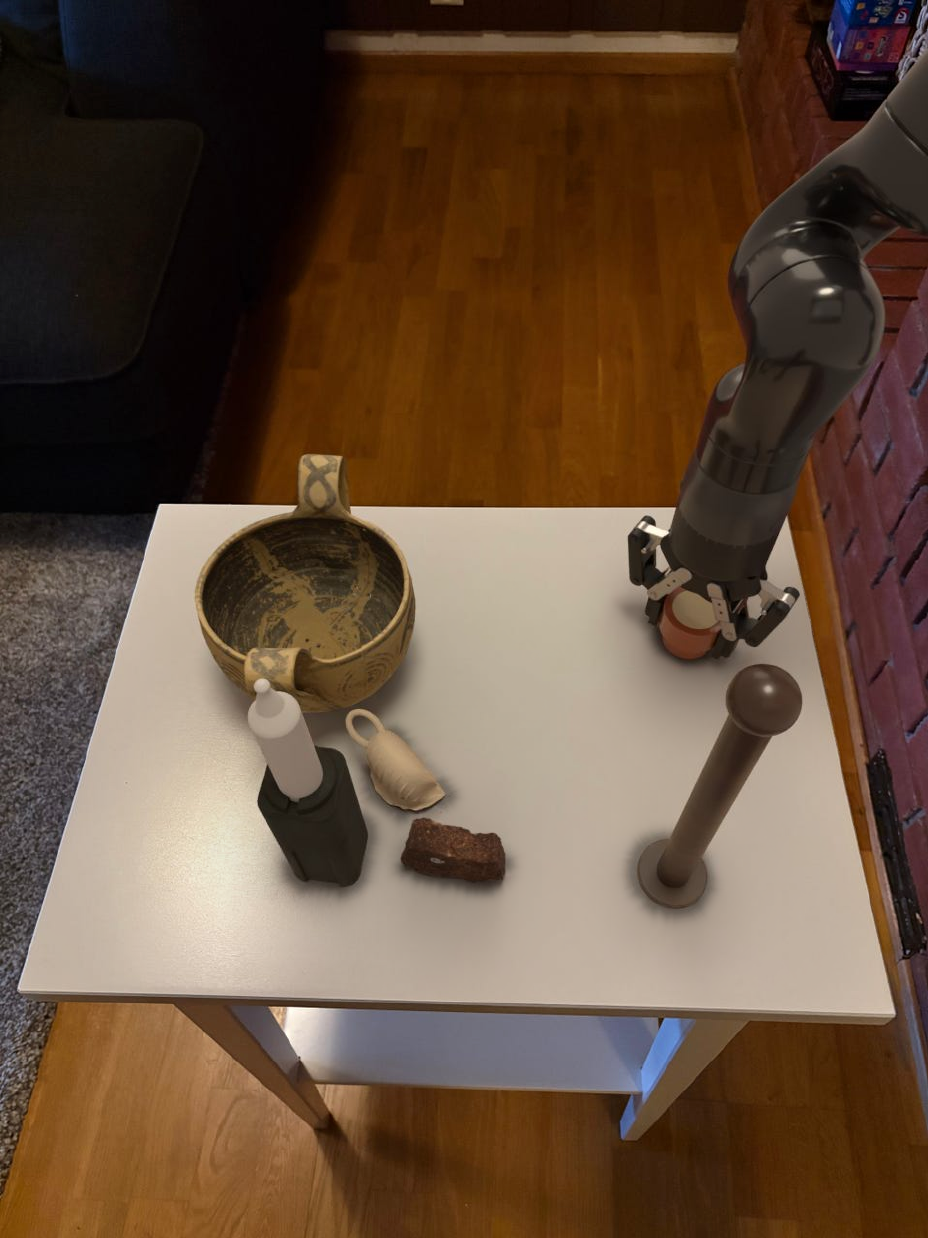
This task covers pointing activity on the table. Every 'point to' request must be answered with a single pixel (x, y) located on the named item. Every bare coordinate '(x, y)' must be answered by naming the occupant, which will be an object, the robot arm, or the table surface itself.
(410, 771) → the decorative ornament
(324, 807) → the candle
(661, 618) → the terracotta bowl
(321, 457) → the ceramic bowl
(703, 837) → the walnut post
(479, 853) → the stone
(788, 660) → the table surface
